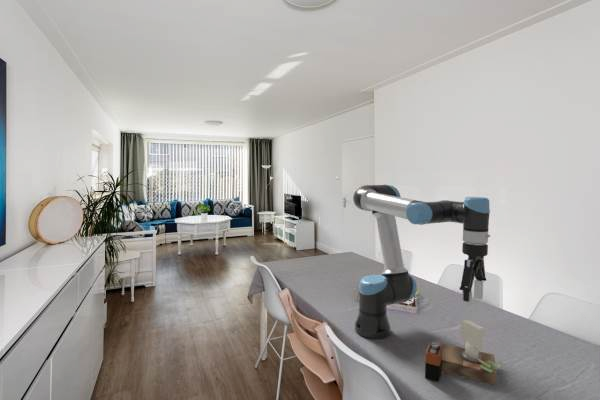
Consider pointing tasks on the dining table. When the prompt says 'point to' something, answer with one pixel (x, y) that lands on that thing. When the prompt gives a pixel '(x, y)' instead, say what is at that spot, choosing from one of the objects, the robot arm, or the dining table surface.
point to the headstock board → (468, 364)
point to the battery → (433, 362)
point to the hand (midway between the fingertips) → (472, 304)
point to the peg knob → (473, 342)
